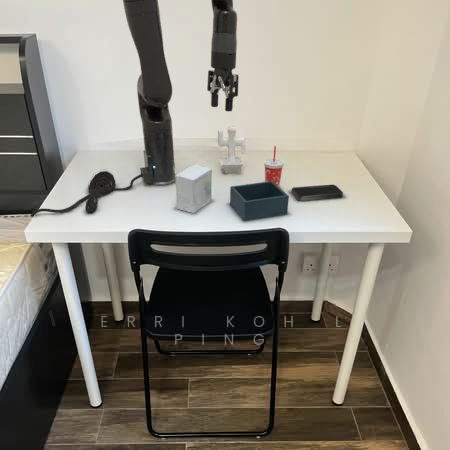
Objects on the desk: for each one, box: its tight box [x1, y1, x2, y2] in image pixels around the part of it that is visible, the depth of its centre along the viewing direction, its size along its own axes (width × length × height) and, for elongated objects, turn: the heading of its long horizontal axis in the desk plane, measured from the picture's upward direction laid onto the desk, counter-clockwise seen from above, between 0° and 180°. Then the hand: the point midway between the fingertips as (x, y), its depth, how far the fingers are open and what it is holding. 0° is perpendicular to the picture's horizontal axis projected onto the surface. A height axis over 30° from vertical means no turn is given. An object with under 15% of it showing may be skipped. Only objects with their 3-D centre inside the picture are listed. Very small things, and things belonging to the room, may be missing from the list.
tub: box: [229, 181, 290, 222], centre depth 135 cm, size 14×12×6 cm
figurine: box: [217, 125, 246, 175], centre depth 156 cm, size 7×9×15 cm
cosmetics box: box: [175, 164, 213, 214], centre depth 136 cm, size 10×6×10 cm, turn 151°
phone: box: [291, 184, 344, 202], centre depth 145 cm, size 8×1×15 cm
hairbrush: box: [84, 169, 116, 215], centre depth 142 cm, size 8×4×25 cm
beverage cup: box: [263, 145, 285, 188], centre depth 144 cm, size 6×6×14 cm
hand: (221, 109), depth 144 cm, fingers open, 8 cm apart
